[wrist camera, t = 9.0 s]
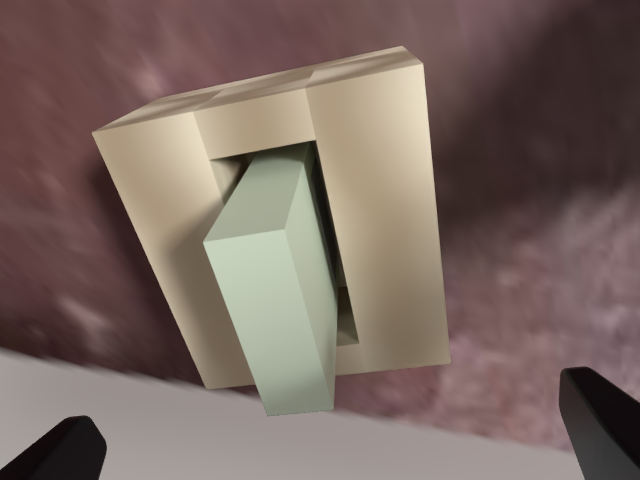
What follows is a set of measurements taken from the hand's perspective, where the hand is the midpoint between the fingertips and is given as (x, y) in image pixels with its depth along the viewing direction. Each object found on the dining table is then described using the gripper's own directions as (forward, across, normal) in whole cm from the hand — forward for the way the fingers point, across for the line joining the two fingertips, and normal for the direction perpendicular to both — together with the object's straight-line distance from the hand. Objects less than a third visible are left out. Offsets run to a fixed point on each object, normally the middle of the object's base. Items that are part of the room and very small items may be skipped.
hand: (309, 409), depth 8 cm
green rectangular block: (+11, +2, +1) cm, 11 cm away
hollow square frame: (+13, +2, +1) cm, 13 cm away
